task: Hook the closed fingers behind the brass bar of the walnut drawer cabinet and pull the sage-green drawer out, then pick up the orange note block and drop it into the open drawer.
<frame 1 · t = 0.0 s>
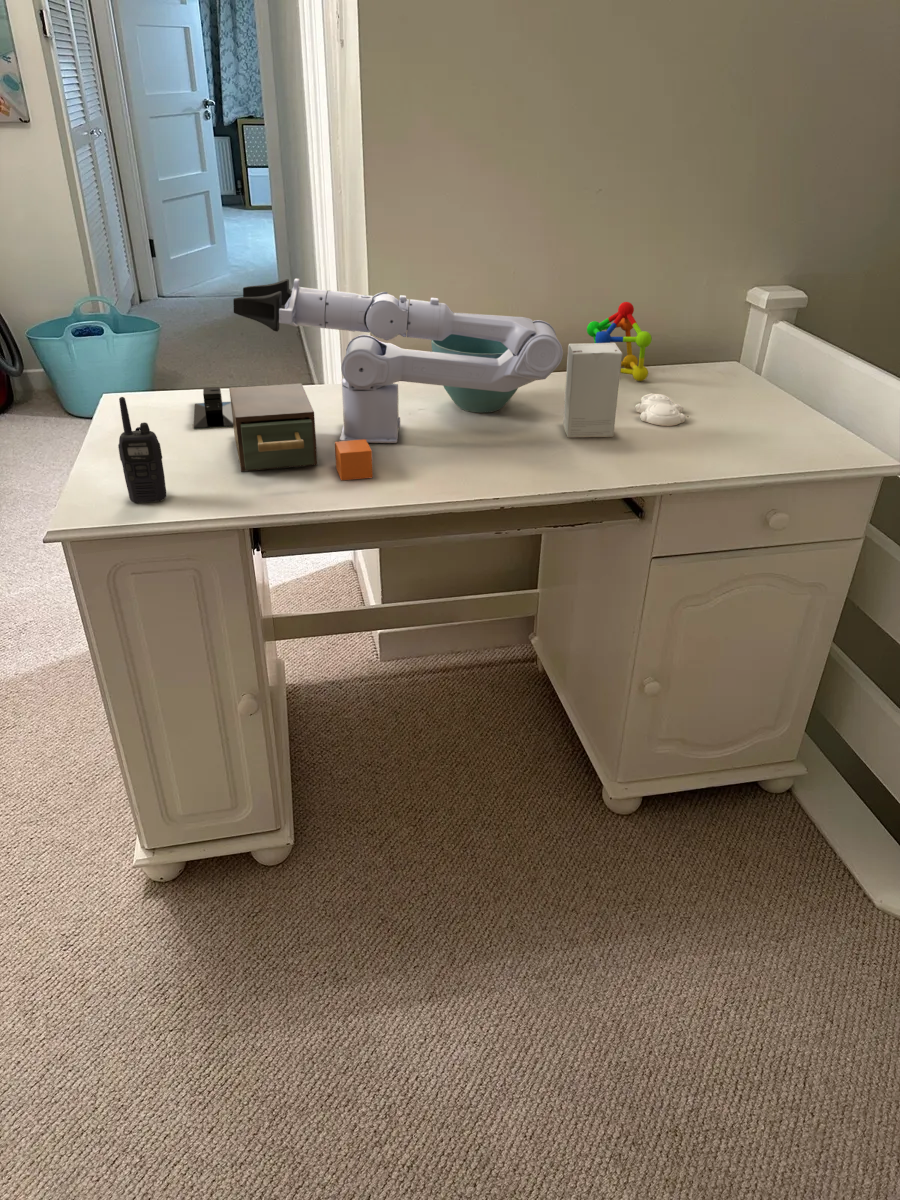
hand: (238, 299, 134), 22 cm above the table, tool horizontal, fingers open, 7 cm apart
cosmetic box: (586, 433, 149), on the table
drawer: (275, 436, 132), point 4 cm above the table, slide at 0.5 cm
plant pot: (479, 406, 160), on the table
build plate: (215, 416, 152), on the table
cabinet: (274, 451, 138), on the table
two-way radio: (149, 498, 123), on the table
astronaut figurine: (659, 415, 158), on the table
educational toy: (615, 376, 177), on the table
note block: (354, 473, 132), on the table
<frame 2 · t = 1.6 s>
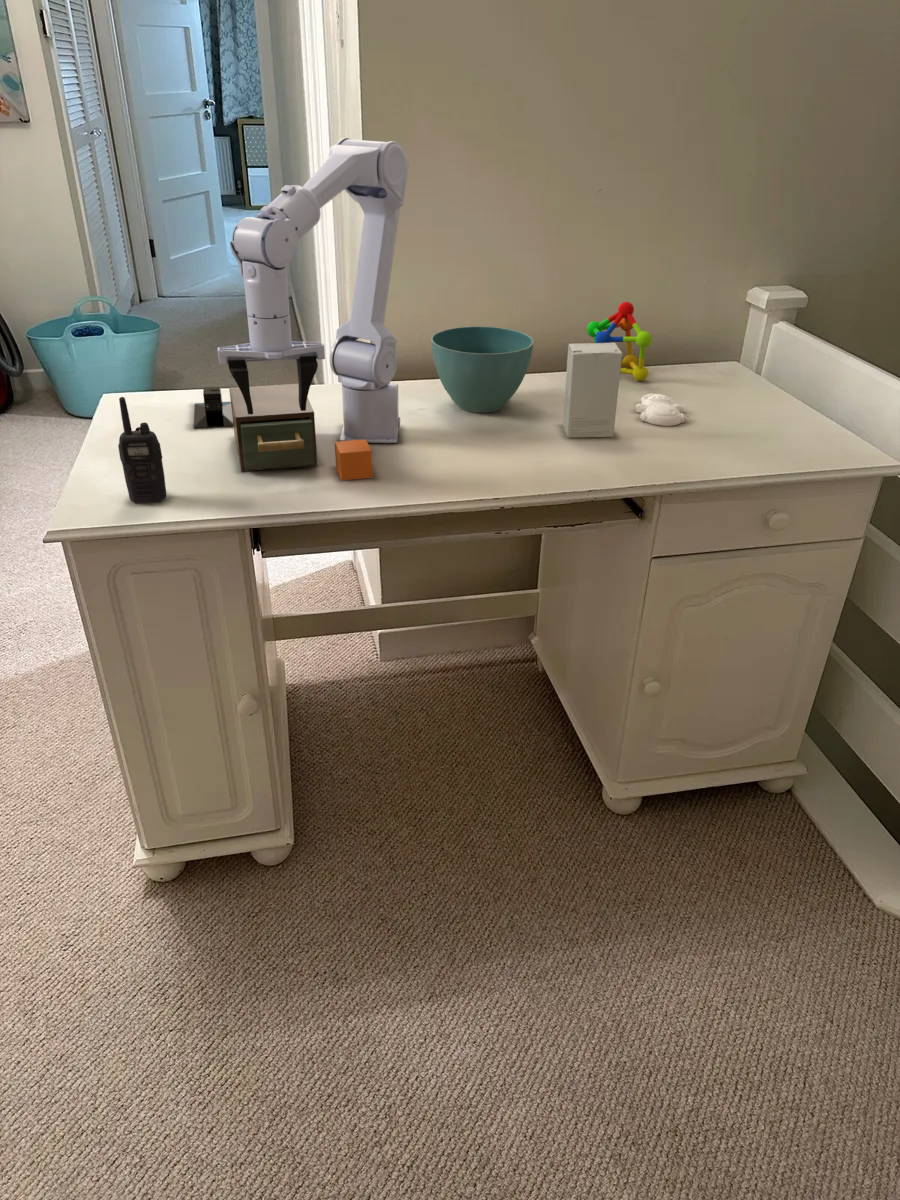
hand: (276, 410, 124), 10 cm above the table, tool pointing down, fingers open, 7 cm apart
nothing on the table moved.
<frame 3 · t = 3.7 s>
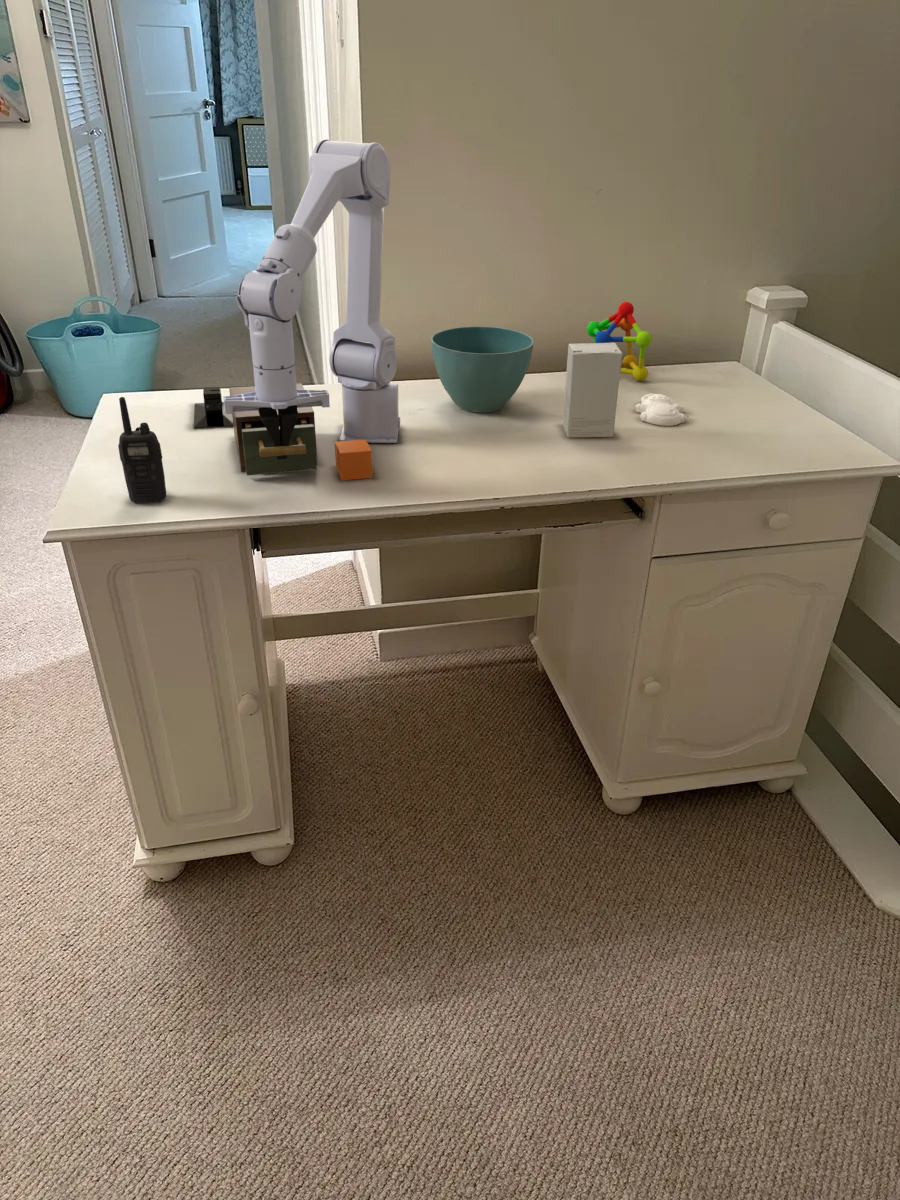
hand: (281, 456, 126), 4 cm above the table, tool pointing down, fingers closed, pressing on drawer
drawer: (277, 441, 131), point 4 cm above the table, slide at 2.6 cm, touching gripper
everything else where it was.
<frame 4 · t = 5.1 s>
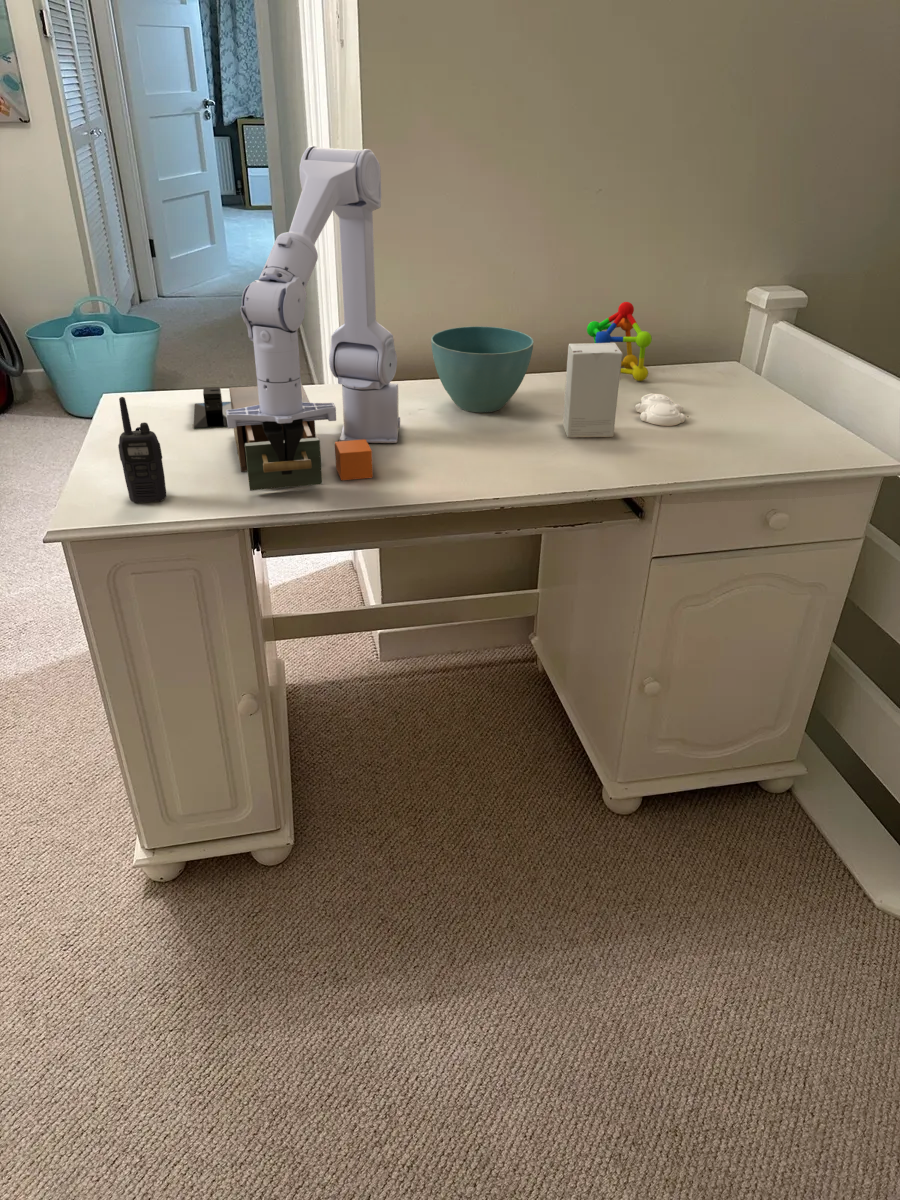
hand: (286, 471, 121), 4 cm above the table, tool pointing down, fingers closed, pressing on drawer
drawer: (281, 455, 126), point 4 cm above the table, slide at 8.1 cm, touching gripper
everything else where it was.
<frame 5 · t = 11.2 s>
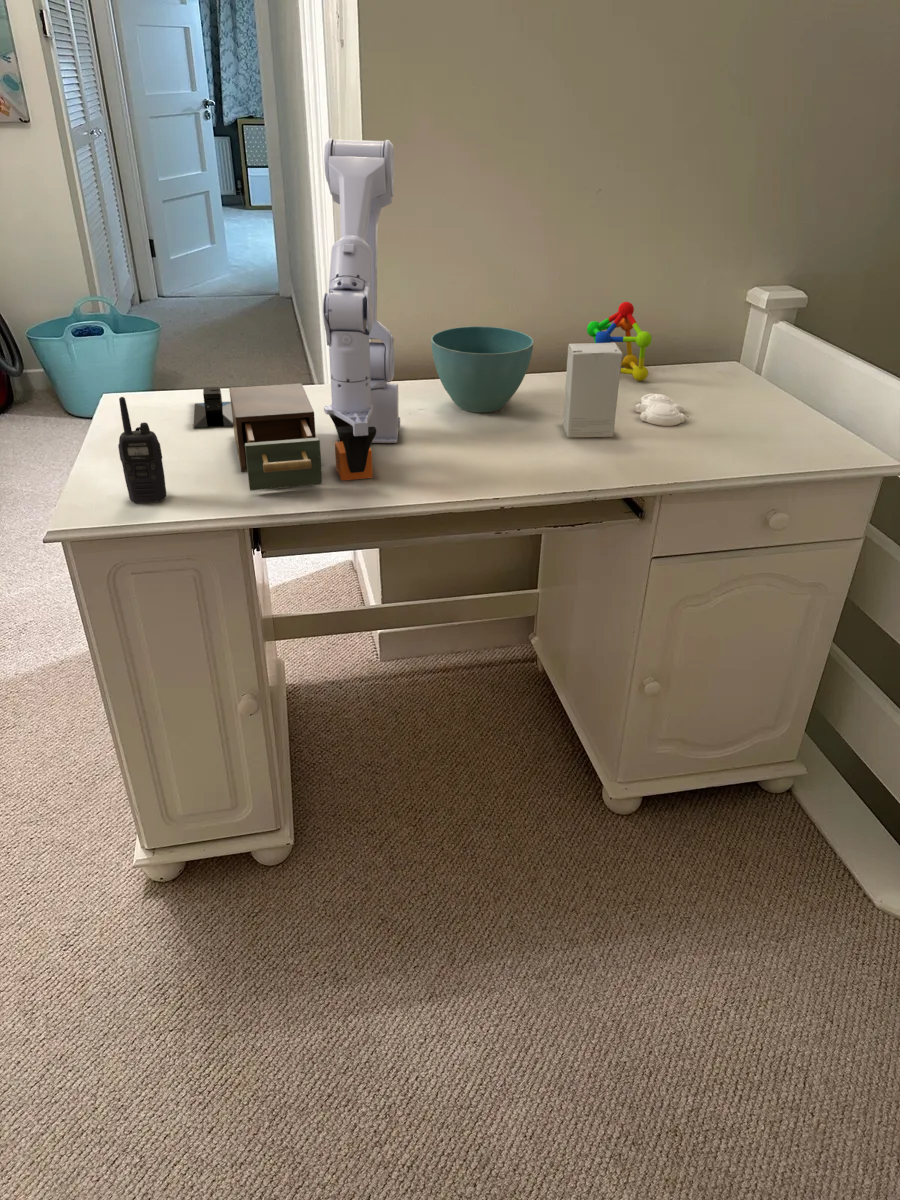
hand: (353, 464, 131), 1 cm above the table, tool pointing down, fingers closed on note block, 5 cm apart
drawer: (281, 455, 126), point 4 cm above the table, slide at 8.1 cm
note block: (354, 473, 132), on the table, touching gripper
everything else where it was.
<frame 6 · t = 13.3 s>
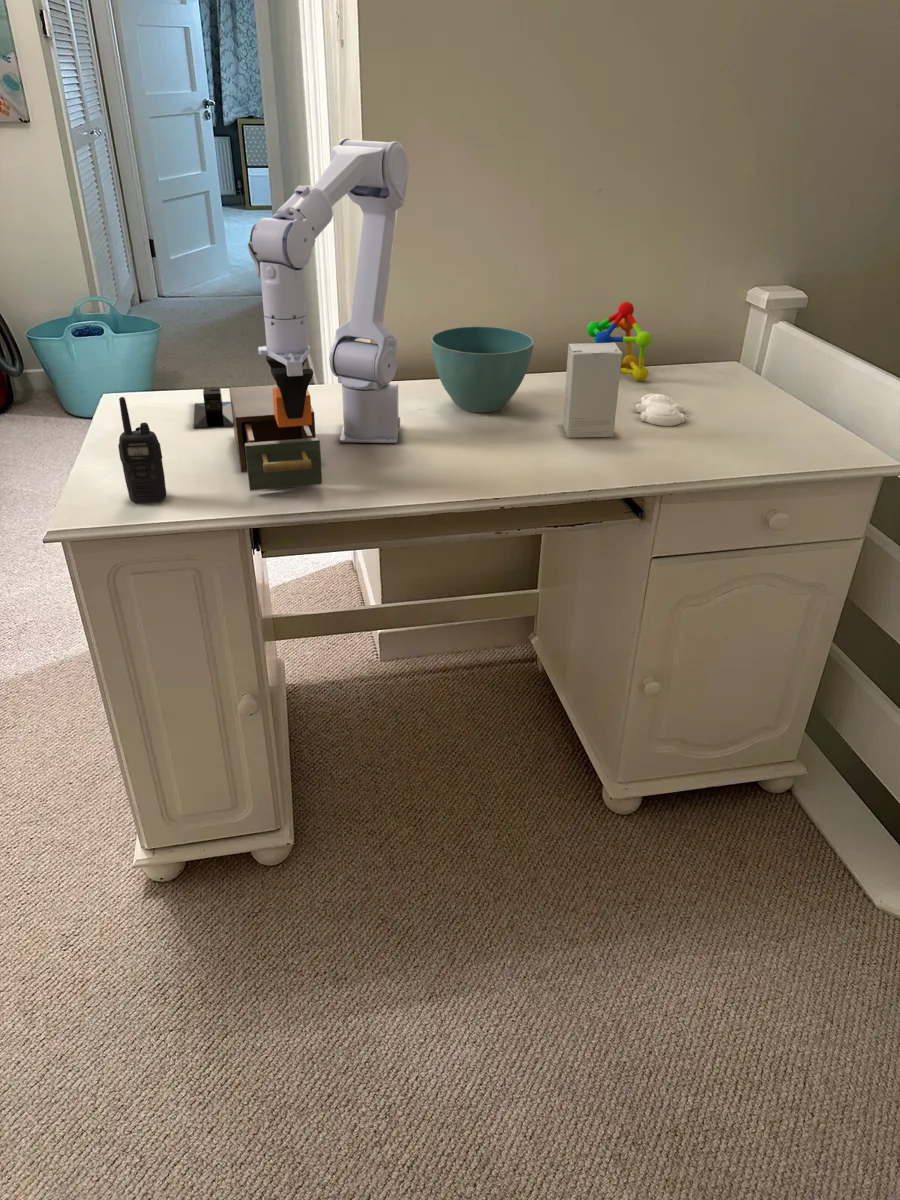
hand: (292, 411, 124), 10 cm above the table, tool pointing down, fingers closed on note block, 5 cm apart
note block: (293, 420, 125), point 9 cm above the table, touching gripper
everything else where it was.
when the fingers open (5 cm above the table, at t = 15.6 s): note block drops 2 cm, resting on drawer.
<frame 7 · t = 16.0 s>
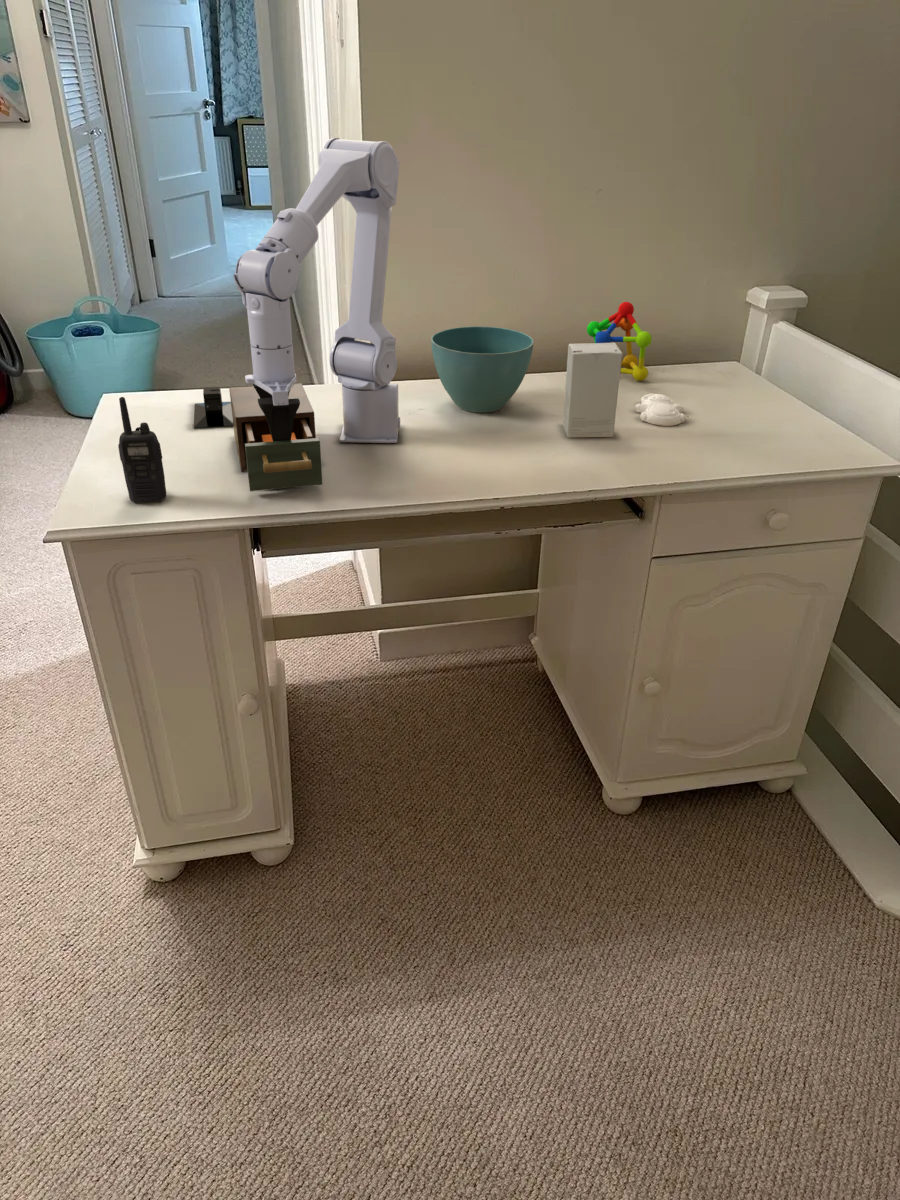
hand: (279, 437, 126), 7 cm above the table, tool pointing down, fingers open, 6 cm apart
drawer: (281, 455, 126), point 4 cm above the table, slide at 8.3 cm, touching gripper, note block
note block: (282, 467, 128), point 2 cm above the table, touching drawer
everything else where it was.
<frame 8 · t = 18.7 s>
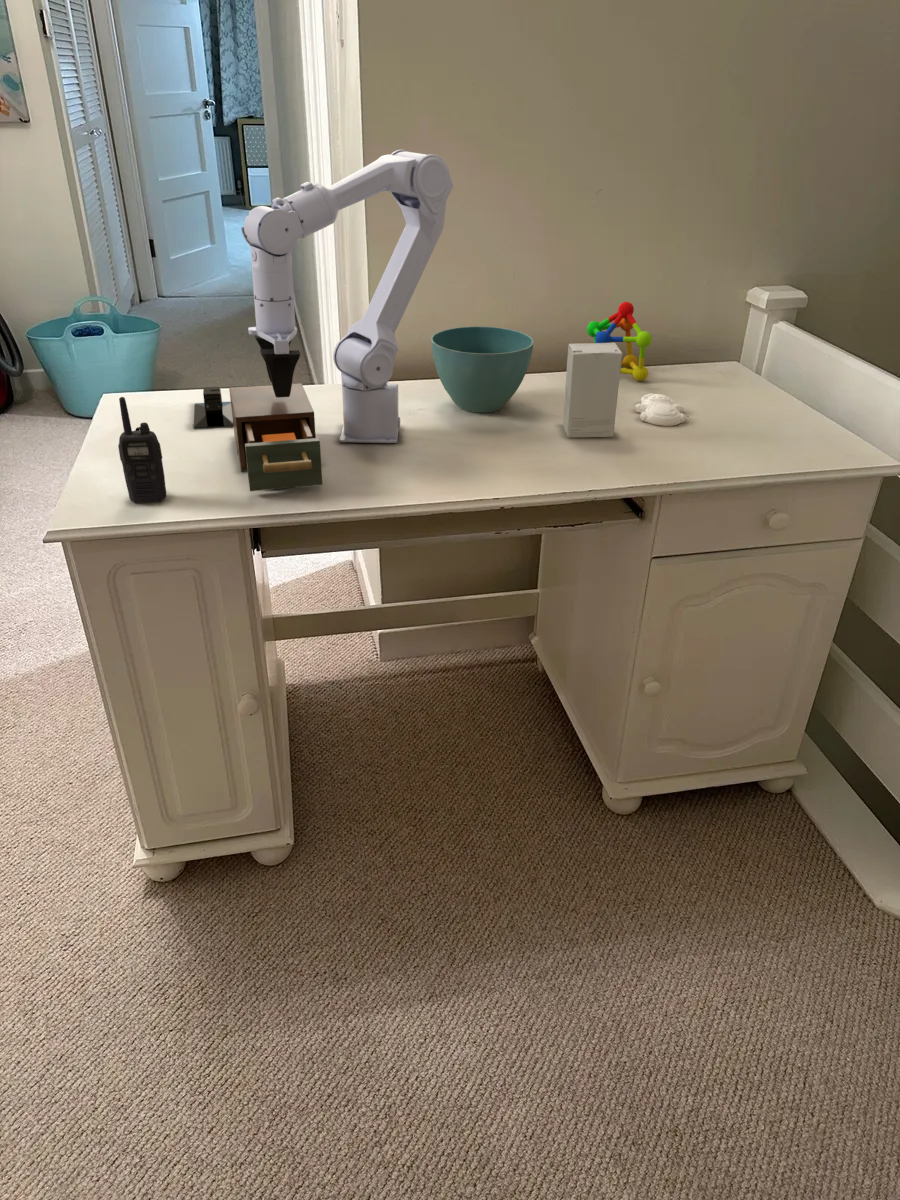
hand: (279, 388, 133), 10 cm above the table, tool pointing down, fingers open, 7 cm apart
drawer: (281, 455, 126), point 4 cm above the table, slide at 8.3 cm, touching note block
everything else where it was.
at the end: drawer slide at 8.3 cm; note block inside the target area in the drawer (0.3 cm from its centre), point 2.0 cm above the cabinet's base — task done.
